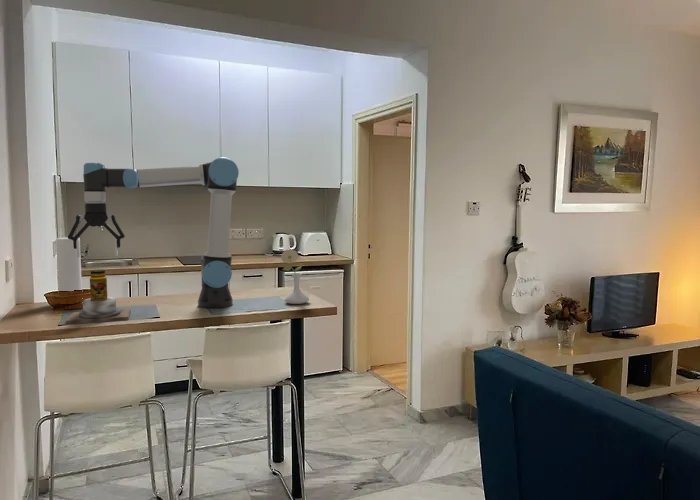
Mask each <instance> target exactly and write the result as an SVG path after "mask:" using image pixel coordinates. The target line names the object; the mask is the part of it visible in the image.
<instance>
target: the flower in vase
mask: <svg viewBox="0 0 700 500" xmlns="http://www.w3.org/2000/svg"><path fill="white" fill-rule="evenodd" d="M280 258H281V261H282V262H283V263H286V264H290V266H288V265H287V266H284V267H283V268H282V269H281V270H282V271H287V272H288V271H290V270H291V269H292V271H293V272H291V274H290V275H291V276H292V278H293V282H294V283H293V284H294V286H293V290H292V291H291V292H289V293H288V294H287V295H286V296H285V297H284V299H283V301H284V302H285V303H287V304H291V305H301V304H305V303H308V302H309V300H310V298H309V296H308V295H306V294H305V293H304V292H303V291H302V290H301V289H300V280H301V276H302V275H303V273H302V272H296V271H300V270H301V269H302V267H303V265H300V266H297V267H295V269H294V268H293V266H292V264H293V263H295V262H297V260H298V258H299V254H298V252H297V250H294V249H291V248H289V249H286V250H284V251H283V252H282V253H281V255H280Z"/></svg>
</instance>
